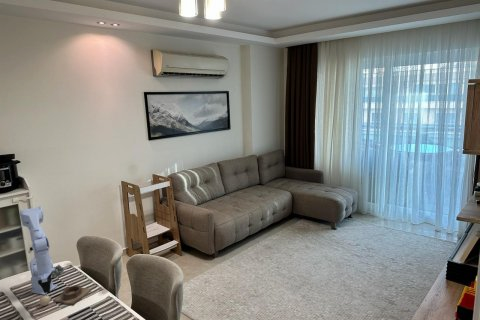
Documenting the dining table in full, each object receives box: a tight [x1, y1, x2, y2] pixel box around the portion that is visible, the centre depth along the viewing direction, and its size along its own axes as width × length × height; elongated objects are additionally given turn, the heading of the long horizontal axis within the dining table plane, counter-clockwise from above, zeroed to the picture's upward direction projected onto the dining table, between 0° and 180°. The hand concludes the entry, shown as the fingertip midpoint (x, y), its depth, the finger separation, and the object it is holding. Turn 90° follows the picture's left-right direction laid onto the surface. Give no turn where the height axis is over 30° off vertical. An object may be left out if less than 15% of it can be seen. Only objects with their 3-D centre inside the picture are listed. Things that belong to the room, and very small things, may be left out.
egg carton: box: [51, 264, 65, 279], centre depth 181 cm, size 11×8×4 cm
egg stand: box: [53, 284, 92, 306], centre depth 161 cm, size 12×12×4 cm
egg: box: [38, 294, 51, 307], centre depth 155 cm, size 5×5×5 cm
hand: (47, 288), depth 155 cm, fingers open, 7 cm apart
